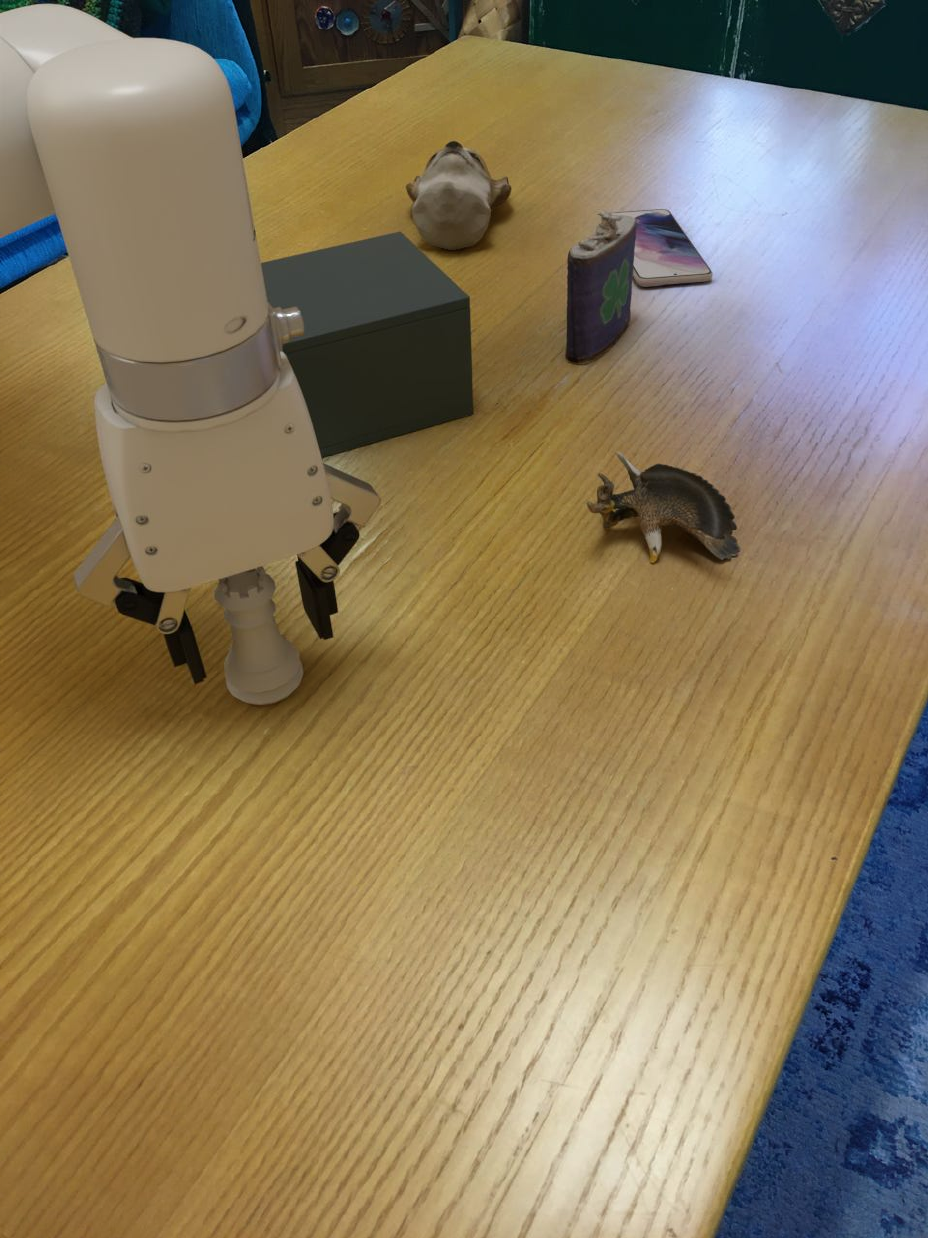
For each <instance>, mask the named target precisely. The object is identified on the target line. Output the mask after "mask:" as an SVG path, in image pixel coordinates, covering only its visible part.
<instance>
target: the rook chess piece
mask: <svg viewBox="0 0 928 1238" xmlns="http://www.w3.org/2000/svg"><path fill="white" fill-rule="evenodd" d="M213 591H214V592H213V594H214V595H213V596H214V600H215V601H216V604H218V606H220V607H221V608H223V609H224V610H223V619H224V620H225V621H226V623H227V624H228V625H229V627H230V631H231V645H230V648H229V649H228V651H227V652H228V654H227V655H226V658H225V660H224V665H223V666H224V668H223V669H224V677H225V682H226V689H227V690H228V691H229V692H230V694H231V696H232V697H234V698H236V699H238V700H239V701H242V702H244V703H246V704H248V705H252V706H253V705H255V706H268V705H273V704H276V703H279V702H281V701H283V700H285V699H286V698H289V696H290V695H291V694H292V693H293V692H294V691H295V690H296V689H297V688H298V687H299V686H300V685H301V682H302V679H303V676H304V668H303V662H302V661H301V658H300V653H299V651H298V649H297V648H296V647H295V646H294V644H293V643H292V642H291V641H290V640H289V639H288V638H286V636H285V635H284V634H283V633H281V631H280V628H279V626H278V624H277V622H276V619H275V614H276V610H277V609H276V608H277V607H276V603H275V601H274V600H273V599H272V598H273V597H274V594H275V592H276V591H277V588H276V581H275V580H274V579H273V578H272V576H271V575H270V574H268V573H267V572H266V569H265V568H264V566H260V567H257V568H254V569H251V570H248V571H245V572H241V573H238V574H235V575H232V576H228V577H225V578H222V579H219V580H218V583H217V585H216V587H215V589H214V590H213Z"/></svg>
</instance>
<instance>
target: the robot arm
mask: <svg viewBox="0 0 928 1238" xmlns="http://www.w3.org/2000/svg"><path fill="white" fill-rule="evenodd" d="M247 181H248V179H247V173H246V169H245V163H244V156H243V151H242V144H241V140H240V133H239V127H238V120H237V116H236V109H235V105H234V99H233V94H232V91H231V87H230V84H229V81H228V79H227V77H226V75H225V73H224V71H223V70H222V68H221V66H220V65H219V63H218V62H217V61H216V59H215V58H213V57H212V56H211V55H210V54H209V53H207V52H206V51H204V50H202V48H200V47H198V46H196V45H193V44H191V43H187V42H183V41H178V40H175V39H169V38H168V39H167V38H158V37H132V36H129V35H128V34H126V33H124V32H123V31H120V30H119V29H117V28H114V27H113V26H111V25H110V24H107V23H106V22H104V21H103V20H101V19H99V18H97V17H95V16H93V15H91V14H89V13H87V12H84V11H83V10H80V9H77V8H75V7H72V6H67V5H63V4H57V3H37V4H31V5H25V6H22V7H18V8H14V9H10V10H7V11H3V12H0V239H2V238H4V237H6V236H9V235H11V234H13V233H15V232H17V231H20V230H21V229H24V228H26V227H29V226H30V225H33V224H35V223H36V222H40V221H41V220H44V219H46V218H48V217H50V216H55V215H56V218H57V222H58V225H59V229H60V232H61V235H62V239H63V241H64V245H65V249H66V251H67V255H68V258H69V262H70V265H71V269H72V271H73V275H74V278H75V282H76V285H77V289H78V292H79V295H80V299H81V302H82V305H83V309H84V312H85V315H86V319H87V321H88V325H89V328H90V333H91V335H92V339H93V341H94V345H95V348H96V352H97V355H98V359H99V362H100V366H101V368H102V372H103V376H104V379H105V383H103V384H101V386H100V387H98V389H97V390H96V391H95V394H94V398H93V403H94V421H95V429H96V437H97V444H98V447H99V455H100V458H101V463H102V467H103V472H104V476H105V480H106V485H107V488H108V491H109V492H108V493H109V496H110V500H111V503H112V508H113V511H114V515H115V518H114V520H113V521H112V522H111V524H110V525H109V526H108V528H107V529H106V530H105V532H104V533H103V534H102V535H101V537H100V538H99V539H98V541H97V542H96V543H95V545H94V546H93V547H92V548H91V550H90V551H89V553H88V554H87V555H86V557H85V558H84V559H83V561H82V562H81V563H80V564H79V565H78V567H77V568H76V570H75V571H74V573H73V575H72V576H73V577H72V578H73V581H74V584H75V588H76V590H77V593H78V595H79V596H80V597H82V598H84V599H87V600H89V601H92V602H94V603H97V604H99V605H102V606H104V607H107V608H109V607H111V608H113V609H116V610H117V612H118V613H119V614H121V615H123V616H125V617H128V618H131V619H134V620H137V621H140V622H143V623H145V624H149V625H152V626H155V628H156V631H157V632H158V633H160V634H162V635H163V638H164V642H165V644H166V647H167V651H168V654H169V657H170V659H171V661H172V665H173V667H174V668H177V667H181V666H184V665H186V667H187V668H188V670H189V673H190V676H191V679H192V681H193V683H194V685H197V684H201V683H203V682H205V679H207V678H208V677H207V671H206V669H205V665H204V662H203V658H202V655H201V652H200V649H199V644H198V642H197V638H196V634H195V632H194V628H193V625H192V623H191V621H190V619H189V616H188V614H187V612H186V606H187V603H188V599H189V595H190V591H191V589H192V588H195V587H198V586H202V585H204V584H208V583H209V584H210V583H211V582H215V581H219V579H222V578H225V577H228V576H232V575H235V574H238V573H241V572H245V571H248V570H251V569H254V568H256V569H257V567H260V566H262V567H264V566H267V565H270V564H273V563H276V562H279V561H282V560H284V559H288V558H291V557H293V556H297V557H296V558H297V560H296V561H295V562H294V564H295V569H296V574H297V575H296V576H297V579H298V586H299V591H300V596H301V601H302V606H303V610H304V612H305V614H306V616H307V618H308V620H309V622H310V624H311V625H312V627H313V629H314V631H315V633H316V635H317V636H318V638H319V640H322V639H323V641H327V640H329V639H332V638H334V631H333V625H332V619H331V616H333V615H336V614H338V613H339V608H338V602H337V601H338V600H337V596H336V589H335V582H334V581H335V580H336V579H337V578H338V577H339V575H340V573H341V569H340V567H339V565H340V564H341V563H342V561H343V560H344V559H345V558H346V557H347V555H348V554H349V552H350V551H351V550H352V549H353V547H354V546H355V545H356V544H357V542H358V541H359V539H360V535H361V534H360V531H361V530H362V528H365V527H366V526H367V524H368V523H369V521H370V520H371V518H372V517H373V516H374V514H375V513H376V512H377V510H378V509H379V507H380V506H381V503H382V499H381V497H380V496H379V494H378V493H377V491H376V490H375V489H374V487H373V485H371V484H370V483H369V482H367V481H364V480H362V479H360V478H357V477H355V476H353V475H350V474H348V473H346V472H344V471H342V470H340V469H338V468H335V467H334V466H331V465H328V464H327V463H324V462H323V457H322V458H321V454H320V450H319V446H318V443H317V439H316V435H315V432H314V428H313V424H312V421H311V418H310V415H309V412H308V408H307V405H306V402H305V399H304V397H303V394H302V391H301V389H300V386H299V383H298V381H297V378H296V376H295V374H294V372H293V369H292V367H291V365H290V363H289V361H288V358H287V356H286V355H285V354H284V353H283V352H282V351H283V344H284V343H288V342H290V339H291V338H295V337H299V336H303V335H304V334H305V328H304V323H303V319H302V316H301V313H300V311H299V309H298V307H297V306H295V307H291V308H287V309H283V310H282V308H280V307H278V308H273V307H272V306H271V305H270V303H269V302H267V296H266V290H265V284H264V279H263V273H262V267H261V263H262V261H261V256H260V250H259V244H258V243H259V242H258V239H257V232H256V227H255V221H254V215H253V210H252V203H251V197H250V191H249V185H248V182H247ZM332 501H334V502H337V503H339V504H340V506H339V507H338V509H339V510H338V511H335V512H334V510H333V509H334V508H333V502H332ZM130 558H131V561H132V564H133V566H134V568H135V571H136V573H137V574H138V577H139V579H140V581H141V582H140V581H139V580H138V581H137V580H135V579H132V578H130V577H119V576H118V574H119V572H120V571H121V570H122V569H123V567H124V566H125V564H126V563H127V562H128V561H129V560H130Z"/></svg>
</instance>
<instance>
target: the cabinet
mask: <svg viewBox="0 0 928 1238" xmlns="http://www.w3.org/2000/svg"><path fill="white" fill-rule="evenodd" d="M261 267H262V273H263V279H264V284H265V290H266V296H267V302H269V303H270V305H271V306H272V307H273V308H278V307H280V308H282V310H283V309H287V308H291V307H295V306H297V307H298V309H299V311H300V313H301V316H302V319H303V323H304V328H305V334H304V335H303V336H299V337H295V338H291V339H290V342H288V343H284V344H283V351H282V352H283V353H284V354H285V355H286V356H287V358H288V361H289V363H290V365H291V367H292V369H293V372H294V374H295V376H296V378H297V381H298V383H299V386H300V389H301V391H302V394H303V397H304V399H305V402H306V405H307V408H308V412H309V415H310V418H311V421H312V424H313V428H314V432H315V435H316V439H317V443H318V446H319V450H320V454H321V458H322V459H323V458H325V457H329V456H333V455H337V454H339V453H342V452H346V451H350V450H354V449H356V448H361V447H364V446H367V445H370V444H374V443H377V442H381V441H384V440H388V439H392V438H395V437H398V436H402V435H406V434H408V433H412V432H416V431H419V430H423V429H426V428H429V427H433V426H436V425H440V424H443V423H446V422H450V421H455V420H457V419H458V420H459V419H461V418H464V417H468V416H471V415H474V390H473V389H474V388H473V387H474V386H473V384H474V383H473V355H472V354H473V353H472V326H471V325H472V323H471V319H472V318H471V307H470V306H471V298H470V296H469V295H468V294H467V293H466V292H465V291H464V290H463V289H462V288H461V287H460V286H459V285H458V284H457V283H455V281H454V280H452V279H451V278H450V277H449V276H448V275H447V274H446V273H445V271H443V270H442V269H441V268H440V267H439V266H438V265H436V264H435V263H434V261H432V260H431V259H430V258H429V257H428V256H427V255H426V254H425V253H424V252H423V251H422V250H421V249H420V248H418V246H416V244H415V243H414V242H412V241H411V240H410V239H409V238H408V237H407V236H406V234H404V233H403V232H402V231H395V232H391V233H387V234H382V235H377V236H373V237H369V238H365V239H364V238H363V239H360V240H356V241H355V240H354V241H351V242H348V243H341V244H338V245H334V246H330V247H325V248H321V249H316V250H312V251H308V252H302V253H299V254H294V255H289V256H285V257H281V258H277V259H272V260H268V261H263V262H261Z"/></svg>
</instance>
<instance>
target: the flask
mask: <svg viewBox="0 0 928 1238" xmlns="http://www.w3.org/2000/svg"><path fill="white" fill-rule="evenodd" d="M610 213H611V212H607V211H606V210H602V211H597V212H596V215H597V216H599V217H600V218H601V217H602V219H603V221H601V222H600V223H599V224H598V226H597V227H596V229H595V233H594V234H593V235H591V236H590V237H587V238H586V239H585V240H582V239H580V240H578V243H576V244H573V246H571V248H570V249H569V250H568V253H567V259H566V261H567V262H566V263H567V267H566V269H567V275H566V279H567V280H566V284H567V285H566V286H567V287H566V348H565V359H566V362H567V363H572V364H574V365H585V364H589V363H591V362H593V361H595V360H597V359H598V358H600V357H601V356H603V355H604V354H606V352H608V351H610V349H612V347H613V346H614V345H615V344H617V343H616V342H617V341H618V340H619V339H620V338H621V337H622V335H623V334H624V333H625V332H626V331H627V329H628V327H629V324H630V320H631V311H632V310H631V303H632V295H633V278H634V277H633V264H634V251H635V240H636V229H637V221H636V219H635V218H633V217H632V216H627V215H614V214H610Z"/></svg>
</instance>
